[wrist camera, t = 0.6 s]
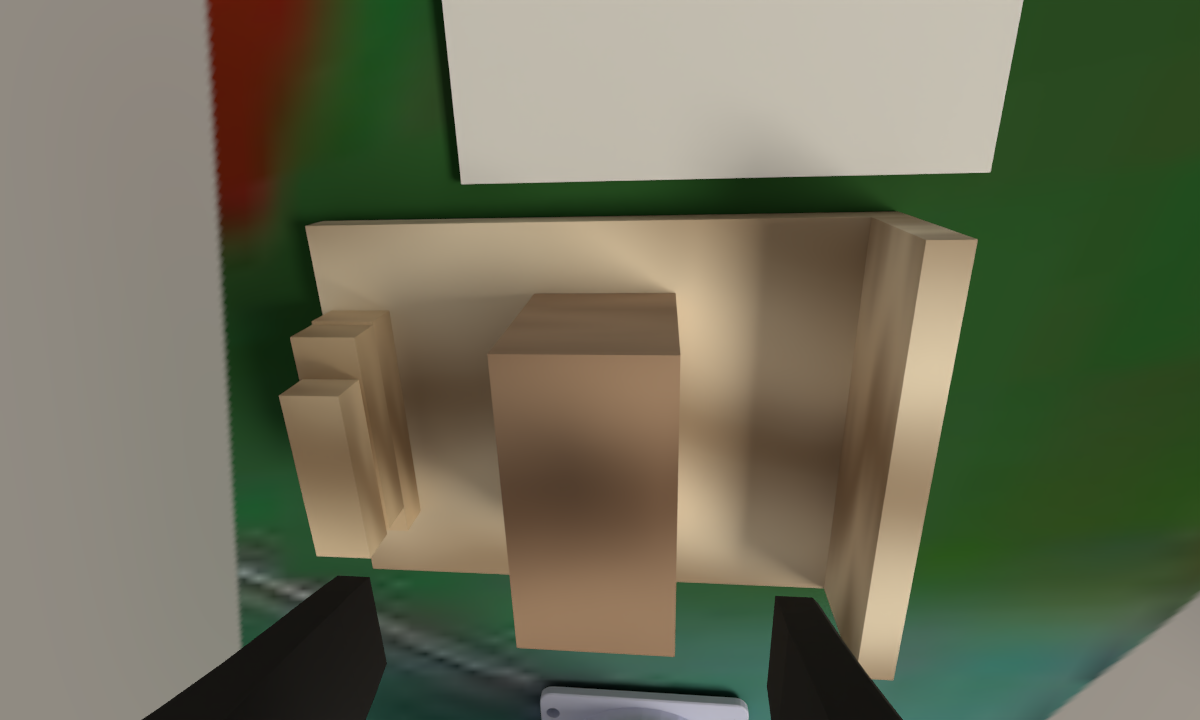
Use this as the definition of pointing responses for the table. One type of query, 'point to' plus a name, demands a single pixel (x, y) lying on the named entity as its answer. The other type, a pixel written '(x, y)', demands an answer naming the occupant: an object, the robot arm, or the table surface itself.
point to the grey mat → (726, 87)
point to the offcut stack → (350, 433)
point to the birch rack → (694, 383)
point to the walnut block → (590, 469)
